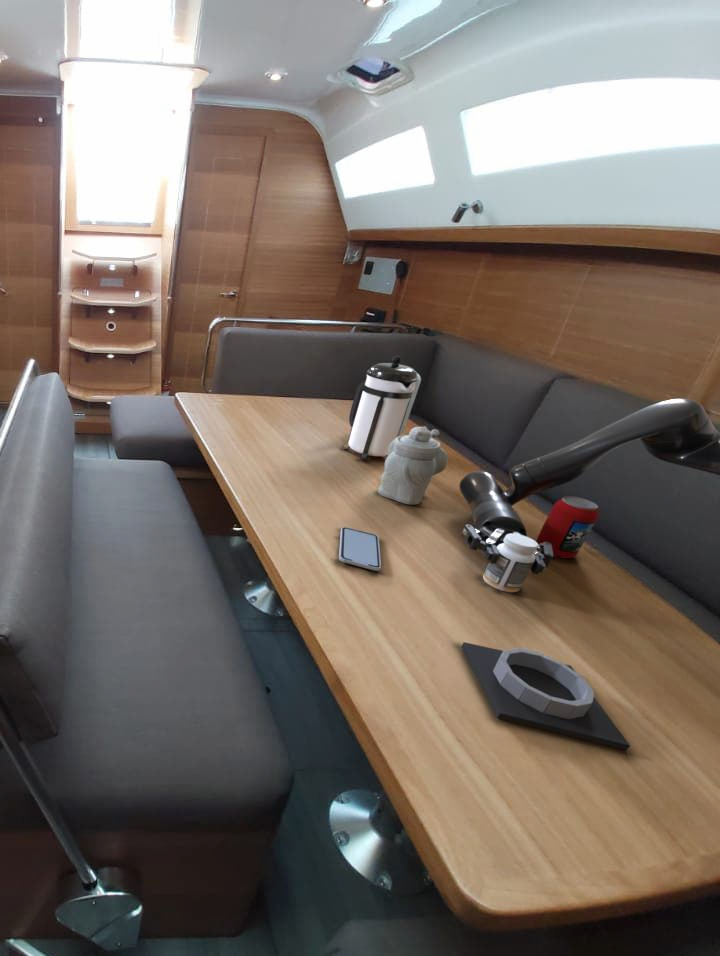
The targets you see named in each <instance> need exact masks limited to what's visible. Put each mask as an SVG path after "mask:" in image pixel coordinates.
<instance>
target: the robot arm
mask: <svg viewBox="0 0 720 956" xmlns="http://www.w3.org/2000/svg"><path fill="white" fill-rule="evenodd" d="M638 440H640V442H641V443H642V445H643V446H644V448H645V450H646V451H647V452H648V453H649V454H650V455H651V456H652V457H654V458H656V459H658V460H660V461H662V462H665V463H670V464H673V465H677V466H681V467H685V468H690V469H693V470H698V471H702V472H706V473H710V474H713V475H716V476H719V477H720V432H719V431H718V430H717V429H716V428H715V425H714V424H713V422H712V421H711V419H710V417H709V416H708V414H707V412H706V410H705V408H704V406H702V404H701V403H700V402H698V401H696V400H694V399H690V398H672V399H667V400H663V401H660V402H656V403H653V404H651V405H649V406H646V407H644V408H641V409H639V410H637V411H635V412H633V413H631V414H629V415H627V416H625V417H623V418H621V419H619V420H617V421H615V422H612V423H611V424H609V425H606V426H604V427H603V428H600V429H598V430H597V431H595V432H593V433H591V434H589V435H587V436H585V437H583V438H581V439H578V440H576V441H575V442H573V443H571V444H569V445H567V446H564V447H562V448H560V449H557V450H554V451H552V452H549V453H547V454H545V455H541V456H539V457H536V458H533V459H530V460H528V461H524V462H522V463H519V464H516V465H513V466H512V467H511V468H510V469H509V471H508V473H509V474H508V475H509V478H510V480H511V485H510V486H509V487H508V488H507V489H505V490H504V489H503V487H502V486H501V485H500V483H499V481H498V479H496V477H495V476H494V474H492V473H490V472H487V471H484V470H477V471H476V470H475V471H472V472H470V473H467V474H466V475H464V476H463V477H462V478H461V479H460V482H459V485H458V488H459V491H460V493H461V494H462V496H463V498H464V500H465V501H466V503H467V505H468V506H469V509H470V513H471V516H472V521H473V526H472V525H471V524H465V525H464V527H463V530H462V532H461V536H460V537H462V539H463V540H464V542H465V543H466V545H467V546H468V548H469V549H470V550H472V551H477V550H480V552H481V553H482V554H483V555H484V558H485V559H486V560H487V561H489V562H490V563H492V564H496V562H497V560H498V558H499V552H498V550H497V546H498V545H500V544H502V543H504V541H503V540H504V538H505V536H506V535H507V534H519V535H523V536H526V537H528V534H527V533H528V532H527V529H526V525H524V523H523V521H522V519H521V517H520V516H519V514H518V512H517V511H516V510H515V509H514V507H513V506H514V505H516V504H517V503H520V502H522V501H523V500H525V499H527V498H530V497H531V496H533V495H535V494H537V493H541V492H544V491H547V490H550V489H553V488H556V487H559V486H562V485H564V484H567V483H570V482H572V481H574V480H576V479H577V478H578V477H580V476H582V475H583V474H584V473H586V472H587V471H588V470H589V469H591V467H593V466H594V465H595V464H596V463H598V462H599V461H600V460H601V459H602V458H603V457H604V456H607V455H608V454H609V453H610V452H612V451H613V450H616V449H617V448H620V447H621V446H624V445H626V444H628V443H631V442H634V441H638ZM533 554H534V556H535V561H534V563H533V565H532V567H531V569H530V571H531V573H532V574H533V575H537V576H538V575H540V574H542V573H543V571H544V570H545V568H548V567H549V565H550V563H551V561H552V559H553V557H554V556H553V550H552V545H551V544H550V543H548V542H543V544H538V548H537V550H536V551H535V552H534V553H533ZM489 562H488V563H489Z"/></svg>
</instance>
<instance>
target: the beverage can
mask: <svg viewBox="0 0 720 956" xmlns="http://www.w3.org/2000/svg"><path fill="white" fill-rule="evenodd" d="M598 509H599V505H598V504H596V503H595V502H593V501H591V500H589V499H586V498H583V497H579V496H573V495H565V496H563V497H562V498H560V499H559V500H557V501H556V502H554V504H553V506H552V508H551V510H550V512H549V513H548V515H547V517H546V519H545V522H544V523H543V525H542V527H541V529H540V531H539V534H538V535H537V538H536V539H535V541H536V542H537V543H538V544H543V542H548V543H550V544H551V545H552V550H553V557H554V558H559V559H571V558H576V556H577V555H578V553H579V551H580V550H581V548H582V546H583V545H584V543H585V541H586V539H587V538H588V536H589V535H590V532H591V531H592V529H593V527H594V525H595V523H596V522H597V520H598V518H599V517H600V514H599V510H598Z"/></svg>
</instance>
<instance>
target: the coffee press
mask: <svg viewBox="0 0 720 956" xmlns="http://www.w3.org/2000/svg"><path fill="white" fill-rule="evenodd" d="M391 360H392V362H381V363H375V364H374V365H372V366H371V367H370V368H369V369H368V370H367V371H366V379H364V380H362V381H361V382H360V383H359V384H358V386H357V388H356V390H355V394H354V396H353V397H354V398H353V401H352V403H351V407H350V411H349V417H348V421H349V426H350V427H351V428H350V433H349V435H348V439H347V441H346V442H344V443H343V444H342V445H341V449H343V450H348V449H351V450H353V451H355V452H357V453H359V454H361V455H360V459H359V461H363V462H366V461H367V458H368V456H369V457H386V458H387V457H388V447H389V445H390V444H391V442H392V441H393V440H394V439H396V438H397V437H398V436H399V433H400V430H401V427H402V424H403V421H404V418H405V415H406V412H407V409H408V406H409V403H410V400H409V399H411V396H412V393H413V387H414V384H415V383H416V382H417V381H418V377H417V373H418V372H417V371H416V370H415V369H414V368H413V367H411V366H408V365H405V364H400V363H401V362H402V357H401V356H399V355H395V356H393V357H392V359H391ZM408 402H409V403H408ZM346 444H348V446H347V447H344V445H346Z"/></svg>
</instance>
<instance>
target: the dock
mask: <svg viewBox="0 0 720 956" xmlns="http://www.w3.org/2000/svg"><path fill="white" fill-rule="evenodd" d="M461 648H462V651H463V652H464V655H465V656H466V659H467V660H468V662H469V665H470V666H471V668H472V670H473V673H474V675H475V677H476V678H477V681H478V682H479V685H480V686H481V688H482V691H483V692H484V695H485V697H486V698H487V700H488V702H489V705H490V706H491V708H492V710H493V713H494V714H495V716H496V718H497V719H499V720H503V721H507V722H512V723H516V724H518V725H523V726H527V727H530V728H535V729H540V730H542V731H546V732H551V733H554V734H555V733H556V734H558V735H563V736H567V737H571V738H576V739H578V740H582V741H587V742H590V743H595V744H597V745H602V746H606V747H610V748H614V749H619V750H623V751H628V749H630V746H631V744H630V743H629V742H628V740H627V739H626V737H624V735H623V734H622V732H621V731H620V730H619V728H618V727H617V725H615V723H614V722H613V720H612V719H611V718H610V716H609V714H608V713H607V712H606V711H605V710H604V708H603V706H601V704H600V703H599V701H598V700H597V699H596V697H595V691H594V689H592V687H591V685H590V684H589V683H588V681H587V680H586V679H585V678H584V677H583V675H581V674H579V673H578V672H576V670H575V669H574V667H572V665H570V664H567V663H566V664H565V663H563V662H562V661H558V660H556V659H554V658H552V657H550V656H547V655H545V654H544V653H540V652H538V651H534V650H529V649H524V648H521V647H520V648H519V647H515V648H510V649H504V650H502V649H497V648H493V647H488V646H483V645H480V644H475V643H469V642H465V641H464V642H463V643H462V645H461Z"/></svg>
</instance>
